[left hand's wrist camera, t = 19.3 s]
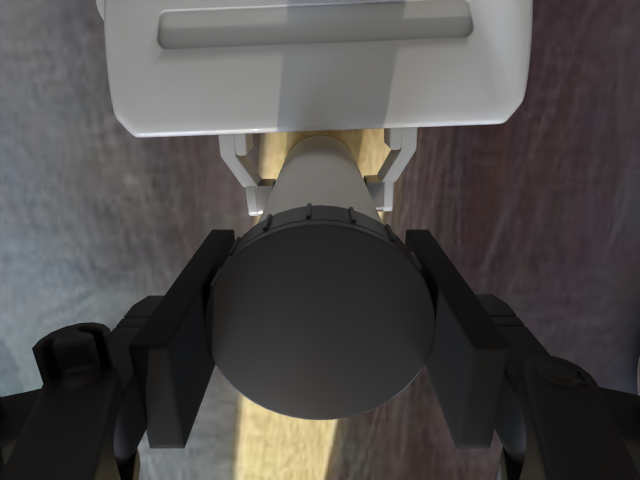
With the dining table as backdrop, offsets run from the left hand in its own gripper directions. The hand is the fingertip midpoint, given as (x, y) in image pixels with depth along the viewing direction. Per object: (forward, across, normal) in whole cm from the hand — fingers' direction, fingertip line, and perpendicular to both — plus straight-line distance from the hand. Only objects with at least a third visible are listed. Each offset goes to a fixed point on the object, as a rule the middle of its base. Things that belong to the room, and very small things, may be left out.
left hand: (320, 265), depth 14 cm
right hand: (+9, 0, -1) cm, 9 cm away
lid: (-4, 0, 0) cm, 4 cm away
